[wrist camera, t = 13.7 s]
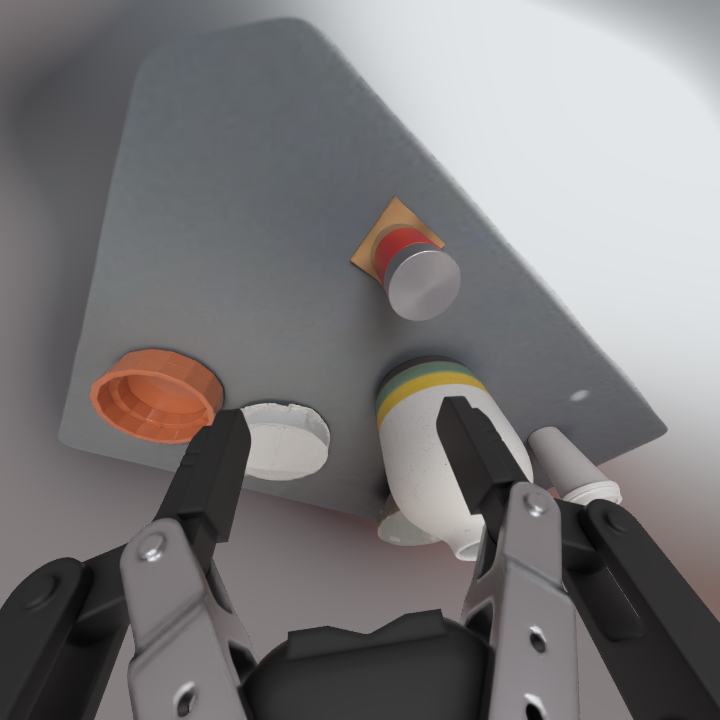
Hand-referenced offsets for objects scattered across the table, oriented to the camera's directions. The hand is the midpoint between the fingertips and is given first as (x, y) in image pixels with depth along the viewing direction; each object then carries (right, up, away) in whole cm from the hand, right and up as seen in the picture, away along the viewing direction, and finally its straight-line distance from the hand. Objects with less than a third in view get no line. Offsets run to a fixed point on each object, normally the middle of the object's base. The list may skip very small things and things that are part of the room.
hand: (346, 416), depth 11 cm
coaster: (+5, +15, +21) cm, 26 cm away
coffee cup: (+41, -14, +48) cm, 64 cm away
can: (+5, +15, +20) cm, 26 cm away
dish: (-28, -2, +29) cm, 41 cm away
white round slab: (-15, -12, +39) cm, 43 cm away
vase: (+11, -2, +34) cm, 36 cm away
